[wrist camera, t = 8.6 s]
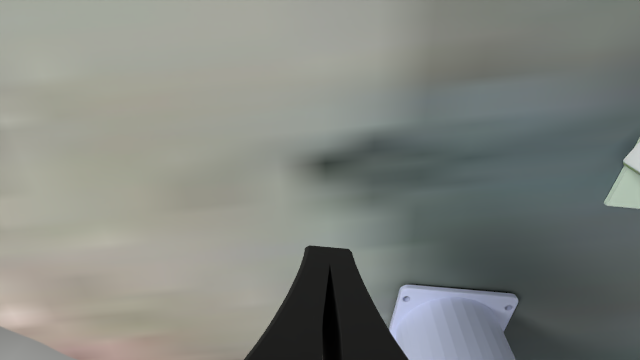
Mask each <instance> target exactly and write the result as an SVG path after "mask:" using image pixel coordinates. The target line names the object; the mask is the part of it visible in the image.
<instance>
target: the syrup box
mask: <svg viewBox="0 0 640 360" xmlns="http://www.w3.org/2000/svg"><path fill="white" fill-rule="evenodd" d="M623 164H624V165H625V166H626V167H628V168H629V169H631V170H633V171H634V172H636V173H637V174H638V175H640V142H639V143H638V144H637V145H636V146H635V147H634V148H633V150H632V151H631V152H630V153H629V154H628V155H627V156H626V157H625V159H624V160H623Z"/></svg>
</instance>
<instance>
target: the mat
mask: <svg viewBox="0 0 640 360" xmlns="http://www.w3.org/2000/svg"><path fill="white" fill-rule="evenodd" d="M639 142H640V138H639V140H638V142H637V143H636V145H637V144H638V143H639ZM636 145H635V146H636ZM604 203H605V204H606V205H607V206H616V207H626V208H637V209H640V175H638V174H637V173H636V172H634V171H633V170H631V169H629V168H628V167H626V166H625V165H624V167H623V169H622V171H621V172H620V174H619V176H618V178H617V180H616V181H615V183H614V185H613V187H612V189H611V191H610V192H609V194H608V196H607V198H606V200H605V201H604Z"/></svg>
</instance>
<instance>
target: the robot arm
mask: <svg viewBox="0 0 640 360" xmlns="http://www.w3.org/2000/svg"><path fill="white" fill-rule="evenodd" d="M406 296H408V297H406ZM517 304H518V298H517V297H516V295H515V294H512V293H500V292H489V291H477V290H466V289H454V288H443V287H431V286H419V285H404V286H402V287H401V288H400V290H399V294H398V298H397V301H396V305H395V309H394V312H393V316H392V320H391V323H390V327H389V329H388V328H387V326H386V324H385V323H384V321H383V319H382V318H381V316H380V314H379V312H378V310H377V309H376V307H375V305H374V303H373V301H372V299H371V297H370V295H369V293H368V291H367V289H366V287H365V285H364V283H363V281H362V278H361V276H360V274H359V271H358V269H357V266H356V264H355V261H354V258H353V255H352V252H351V251H350V250H349V249H343V248H331V247H320V246H308V247H306V248H305V252H304V256H303V260H302V263H301V266H300V268H299V271H298V273H297V276H296V278H295V280H294V282H293V284H292V286H291V288H290V290H289V292H288V294H287V296H286V298H285V300H284V301H283V303H282V305H281V306H280V308H279V310H278V312H277V313H276V315H275V317H274V318H273V320H272V321H271V323H270V325H269V326H268V328H267V329H266V331H265V332H264V333H263V335H262V336H261V338H260V339H259V341H258V342H257V343H256V345H255V346H254V347H253V349H252V350H251V351H250V352H249V354H248V355H247V356H246V358H245V359H244V360H322V356H323V360H516V359H515V357H514V355H513V352H512V350H511V348H510V346H509V344H508V341H507V339H506V337H505V335H504V333H503V332H504V330H505V328H506V326H507V324H508V322H509V320H510V318H511V316H512V314H513V312H514V310H515V308H516V306H517ZM507 305H508V306H507Z"/></svg>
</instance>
